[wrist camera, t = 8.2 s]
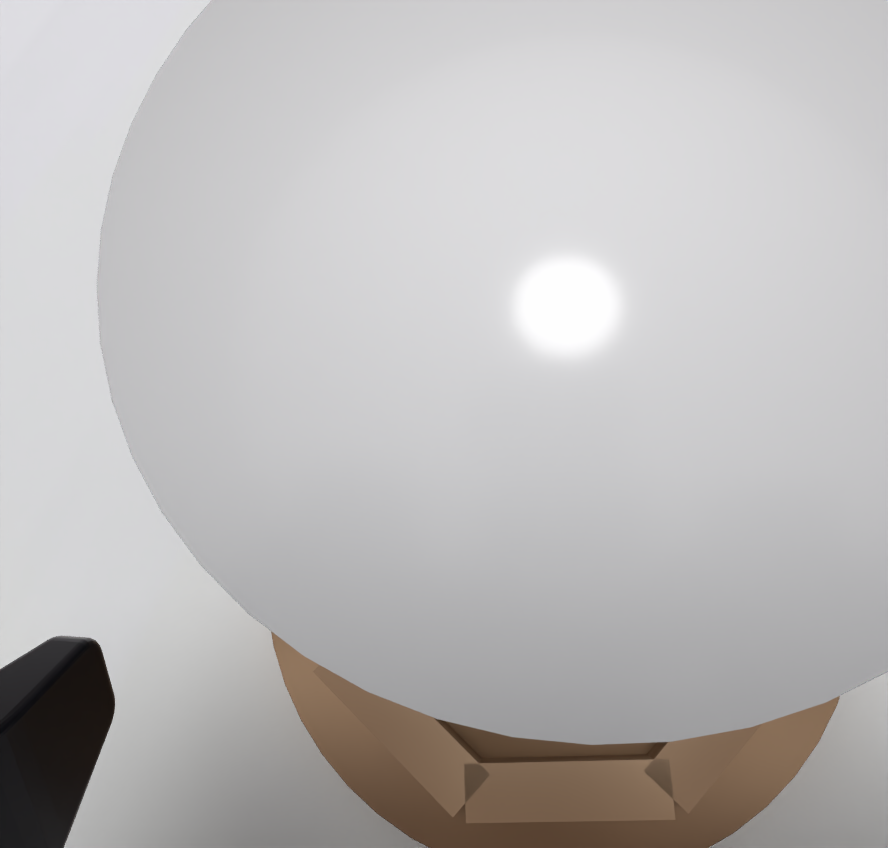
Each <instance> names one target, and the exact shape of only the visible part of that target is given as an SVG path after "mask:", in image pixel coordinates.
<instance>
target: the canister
mask: <svg viewBox="0 0 888 848" xmlns="http://www.w3.org/2000/svg"><path fill="white" fill-rule="evenodd" d="M97 299H98V316H99V332H100V345H101V349H102V354H103V359H104V364H105V369H106V374H107V379H108V384H109V388H110V393H111V398H112V402H113V405H114V407H115V410H116V413H117V416H118V419H119V421H120V424H121V427H122V430H123V432H124V435H125V438H126V441H127V444H128V446H129V449H130V452H131V455H132V457H133V459H134V461H135V463H136V465H137V467H138V469H139V471H140V472H141V474H142V476H143V478H144V480H145V482H146V484H147V486H148V487H149V489H150V491H151V493H152V495H153V497H154V499H155V501H156V502H157V504H158V506H159V508H160V510H161V512H162V513H163V515H164V516H165V518H166V519H167V520H168V522H169V523H170V524H171V526H172V527H173V528H174V530H175V531H176V532H177V534H178V535H179V537H180V538H181V539H182V541H183V542H184V543H185V545H186V546H187V547H188V549H189V550H190V552H191V553H192V554H193V556H194V557H195V558H196V560H197V561H198V562H199V564H200V565H201V566H202V567H203V568H204V569H205V570H206V571H207V572H208V573H209V574H210V575H211V576H212V577H213V578H214V579H215V580H216V581H217V582H218V583H219V584H220V585H221V587H222V588H223V589H224V590H225V591H226V592H227V593H228V594H229V595H230V596H231V597H232V598H233V599H234V600H235V601H236V602H237V603H238V604H239V605H240V606H241V607H242V608H243V609H244V610H245V611H246V612H247V613H248V614H249V615H251V616H252V617H253V618H255V619H256V620H257V621H259V622H260V623H261V624H262V625H264V626H265V627H266V628H268V629H269V630H270V631H272V632H273V633H274V634H276V635H277V636H278V637H280V638H281V639H282V640H283V641H285V642H286V643H287V644H289V645H290V646H291V647H293V648H294V649H295V650H297V651H298V652H299V653H301V654H302V655H303V656H305V657H306V658H308V659H310V660H312V661H314V662H315V663H317V664H319V665H321V666H322V667H324V668H326V669H328V670H330V671H331V672H333V673H335V674H337V675H338V676H340V677H342V678H344V679H346V680H347V681H349V682H351V683H353V684H355V685H356V686H358V687H360V688H362V689H363V690H365V691H367V692H369V693H372V694H374V695H377V696H380V697H382V698H385V699H387V700H390V701H392V702H395V703H397V704H400V705H403V706H405V707H408V708H410V709H413V710H415V711H418V712H421V713H423V714H426V715H428V716H431V717H433V718H436V719H439V720H443V721H447V722H451V723H456V724H460V725H464V726H468V727H472V728H477V729H481V730H485V731H489V732H493V733H497V734H502V735H506V736H510V737H516V738H526V739H536V740H546V741H557V742H567V743H577V744H587V745H602V744H627V743H652V742H673V741H678V740H684V739H689V738H695V737H700V736H706V735H711V734H717V733H723V732H728V731H734V730H739V729H745V728H750V727H753V726H756V725H759V724H762V723H765V722H768V721H771V720H774V719H778V718H781V717H784V716H787V715H790V714H793V713H796V712H799V711H802V710H805V709H808V708H811V707H814V706H817V705H820V704H823V703H826V702H828V701H830V700H832V699H834V698H836V697H838V696H840V695H842V694H844V693H846V692H848V691H850V690H852V689H854V688H856V687H858V686H860V685H862V684H864V683H866V682H868V681H870V680H872V679H874V678H876V677H878V676H880V675H882V674H884V673H886V672H888V0H211V1H210V3H209V4H208V5H207V6H206V7H205V8H204V10H203V11H202V12H201V13H200V14H199V15H198V17H197V18H196V19H195V20H194V21H193V22H192V24H191V25H190V26H189V27H188V28H187V29H186V31H185V32H184V34H183V35H182V37H181V38H180V40H179V41H178V43H177V44H176V46H175V47H174V49H173V50H172V52H171V53H170V55H169V56H168V58H167V59H166V61H165V62H164V64H163V65H162V67H161V68H160V70H159V71H158V73H157V74H156V76H155V78H154V80H153V82H152V84H151V86H150V88H149V90H148V92H147V93H146V95H145V97H144V99H143V101H142V103H141V105H140V107H139V109H138V111H137V113H136V115H135V117H134V119H133V121H132V123H131V126H130V128H129V131H128V134H127V137H126V140H125V142H124V145H123V148H122V151H121V154H120V156H119V159H118V162H117V165H116V168H115V170H114V173H113V176H112V181H111V186H110V190H109V195H108V200H107V204H106V209H105V213H104V218H103V223H102V227H101V236H100V249H99V262H98V275H97Z"/></svg>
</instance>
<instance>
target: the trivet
mask: <svg viewBox="0 0 888 848" xmlns="http://www.w3.org/2000/svg"><path fill="white" fill-rule="evenodd" d="M271 633H272V639H273V645H274V649H275V652H276V656H277V659H278V662H279V666H280V669H281V672H282V676H283V679H284V682H285V685H286V687H287V690H288V692H289V694H290V696H291V698H292V701H293V703H294V705H295V707H296V710H297V712H298V714H299V716H300V719H301V721H302V722H303V724H304V725H305V727H306V729H307V730H308V732H309V734H310V735H311V737H312V739H313V740H314V742H315V743H316V745H317V747H318V748H319V750H320V752H321V753H322V755H323V756H324V757H325V758H326V760H327V761H328V762H329V763H330V764H331V766H332V767H333V768H334V769H335V771H336V772H337V773H338V774H339V776H340V777H341V778H342V779H343V781H344V782H345V783H346V784H347V785H348V786H349V787H350V788H351V789H352V790H353V791H354V792H355V793H356V794H357V795H358V796H359V797H360V798H361V799H362V800H363V801H364V802H366V803H367V804H368V805H369V806H370V807H371V808H372V809H373V810H374V811H375V812H376V813H377V814H379V815H380V816H381V817H383V818H384V819H386V820H387V821H388V822H390V823H391V824H393V825H394V826H395V827H397V828H398V829H399V830H401V831H402V832H404V833H405V834H406V835H408V836H409V837H411V838H412V839H414V840H416V841H418V842H420V843H422V844H424V845H426V846H428V847H429V848H708V847H710V846H712V845H714V844H715V843H717V842H719V841H721V840H722V839H724V838H726V837H728V836H729V835H731V834H733V833H734V832H735V831H737V830H738V829H739V828H740V827H742V826H743V825H744V824H745V823H747V822H748V821H749V820H750V819H752V818H753V817H754V816H756V815H757V814H758V813H759V812H761V811H762V810H763V809H764V808H766V807H767V806H768V805H769V803H770V802H771V801H772V800H773V799H774V798H775V797H776V796H777V795H778V794H779V793H780V792H781V791H782V790H783V788H784V787H785V786H786V785H787V784H788V783H789V782H790V781H791V780H792V779H793V778H794V777H795V775H796V774H797V773H798V771H799V770H800V768H801V767H802V765H803V764H804V762H805V761H806V760H807V758H808V757H809V755H810V754H811V752H812V751H813V749H814V748H815V747H816V745H817V744H818V742H819V740H820V738H821V736H822V734H823V732H824V730H825V728H826V726H827V724H828V722H829V720H830V718H831V716H832V714H833V712H834V710H835V708H836V706H837V704H838V700H839V697H840V696H838V697H836V698H834V699H832V700H830V701H828V702H826V703H823V704H820V705H817V706H814V707H811V708H808V709H805V710H802V711H799V712H796V713H793V714H790V715H787V716H784V717H781V718H778V719H774V720H771V721H768V722H765V723H762V724H759V725H756V726H753V727H750V728H745V729H739V730H734V731H728V732H723V733H717V734H711V735H706V736H700V737H695V738H689V739H684V740H678V741H673V742H652V743H627V744H602V745H587V744H577V743H567V742H557V741H546V740H536V739H526V738H516V737H510V736H506V735H502V734H497V733H493V732H489V731H485V730H481V729H477V728H472V727H468V726H464V725H460V724H456V723H451V722H447V721H443V720H439V719H436V718H433V717H431V716H428V715H426V714H423V713H421V712H418V711H415V710H413V709H410V708H408V707H405V706H403V705H400V704H397V703H395V702H392V701H390V700H387V699H385V698H382V697H380V696H377V695H374V694H372V693H369V692H367V691H365V690H363V689H362V688H360V687H358V686H356V685H355V684H353V683H351V682H349V681H347V680H346V679H344V678H342V677H340V676H338V675H337V674H335V673H333V672H331V671H330V670H328V669H326V668H324V667H322V666H321V665H319V664H317V663H315V662H314V661H312V660H310V659H308V658H306V657H305V656H303V655H302V654H301V653H299V652H298V651H297V650H295V649H294V648H293V647H291V646H290V645H289V644H287V643H286V642H285V641H283V640H282V639H281V638H280V637H278V636H277V635H276V634H274V633H273V632H272V631H271Z"/></svg>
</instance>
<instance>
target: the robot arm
mask: <svg viewBox="0 0 888 848" xmlns="http://www.w3.org/2000/svg"><path fill="white" fill-rule="evenodd" d="M114 710H115V698H114V692H113V689H112V685H111V682H110V678H109V675H108V671H107V667H106V664H105V660H104V657H103V653H102V650H101V647H100V645H99V644H98V643H97V642H96V641H95V640H94V639H91V638H85V637H71V636H56V637H53V638H51V639H49V640H47V641H45V642H44V643H42V644H41V645H39V646H37V647H36V648H34V649H32V650H31V651H29V652H28V653H26V654H24V655H23V656H21V657H19V658H18V659H16V660H14V661H13V662H11V663H10V664H8V665H6V666H5V667H3V668H1V669H0V848H64V845H65V843H66V840H67V838H68V835H69V833H70V830H71V827H72V825H73V822H74V819H75V817H76V814H77V812H78V809H79V806H80V804H81V801H82V799H83V796H84V793H85V791H86V788H87V786H88V783H89V780H90V778H91V775H92V772H93V770H94V767H95V765H96V762H97V759H98V757H99V754H100V752H101V749H102V746H103V744H104V741H105V739H106V736H107V733H108V731H109V728H110V725H111V723H112V720H113V715H114Z"/></svg>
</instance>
